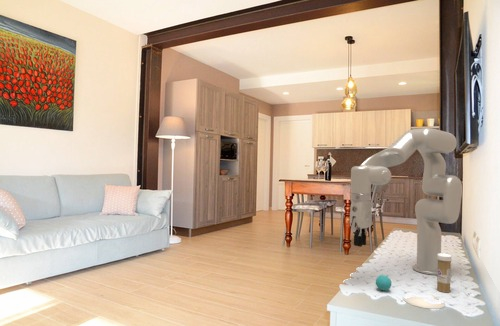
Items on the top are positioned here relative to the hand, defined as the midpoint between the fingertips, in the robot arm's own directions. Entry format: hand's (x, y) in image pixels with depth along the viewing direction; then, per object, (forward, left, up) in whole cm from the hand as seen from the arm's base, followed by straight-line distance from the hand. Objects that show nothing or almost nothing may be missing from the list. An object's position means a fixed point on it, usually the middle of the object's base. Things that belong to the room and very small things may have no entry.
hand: (359, 244), depth 137 cm
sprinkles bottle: (-16, +26, -15) cm, 34 cm away
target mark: (0, +24, -15) cm, 28 cm away
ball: (0, +10, -12) cm, 16 cm away
